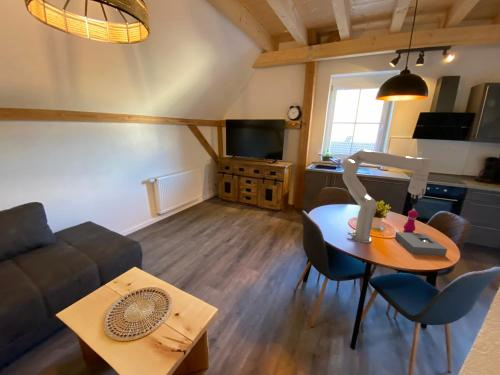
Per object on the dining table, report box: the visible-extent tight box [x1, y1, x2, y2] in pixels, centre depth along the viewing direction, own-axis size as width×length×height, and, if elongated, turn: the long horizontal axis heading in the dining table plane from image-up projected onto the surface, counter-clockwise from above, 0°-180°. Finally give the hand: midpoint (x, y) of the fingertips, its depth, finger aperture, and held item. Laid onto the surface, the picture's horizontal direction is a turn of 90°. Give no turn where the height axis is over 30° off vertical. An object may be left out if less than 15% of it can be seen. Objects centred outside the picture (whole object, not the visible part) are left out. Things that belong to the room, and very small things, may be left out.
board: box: [394, 231, 448, 257], centre depth 146 cm, size 20×20×5 cm
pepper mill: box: [402, 208, 419, 233], centre depth 163 cm, size 7×7×20 cm
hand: (413, 203), depth 143 cm, fingers closed
